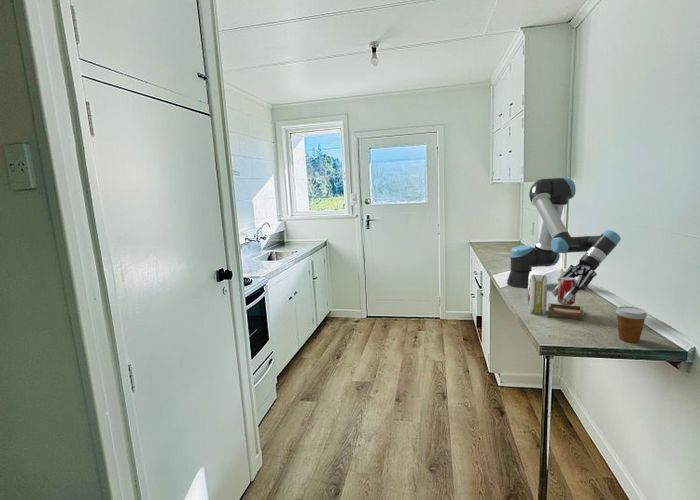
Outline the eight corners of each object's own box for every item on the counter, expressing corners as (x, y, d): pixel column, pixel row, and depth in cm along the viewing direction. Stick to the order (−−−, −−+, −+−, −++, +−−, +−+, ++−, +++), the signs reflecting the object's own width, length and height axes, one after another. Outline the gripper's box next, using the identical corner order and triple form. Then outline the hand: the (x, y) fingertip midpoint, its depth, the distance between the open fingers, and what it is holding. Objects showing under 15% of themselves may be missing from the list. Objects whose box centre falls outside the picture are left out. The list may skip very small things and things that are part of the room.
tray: (548, 308, 182) (548, 303, 182) (582, 311, 176) (582, 306, 175) (547, 317, 170) (548, 312, 170) (583, 321, 164) (584, 315, 163)
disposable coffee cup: (607, 335, 147) (609, 306, 145) (630, 334, 148) (632, 305, 146) (627, 345, 138) (629, 314, 136) (651, 343, 139) (654, 312, 137)
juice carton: (543, 309, 181) (545, 271, 178) (546, 315, 173) (548, 275, 170) (526, 308, 184) (528, 270, 181) (528, 313, 176) (530, 274, 173)
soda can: (568, 306, 167) (570, 280, 165) (554, 303, 173) (554, 277, 171) (578, 303, 170) (579, 278, 168) (563, 300, 177) (564, 275, 175)
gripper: (615, 268, 162) (581, 308, 162) (579, 260, 182) (549, 296, 181) (606, 257, 160) (571, 297, 160) (570, 250, 180) (539, 286, 179)
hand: (559, 296), depth 171 cm, fingers closed on soda can, 7 cm apart
